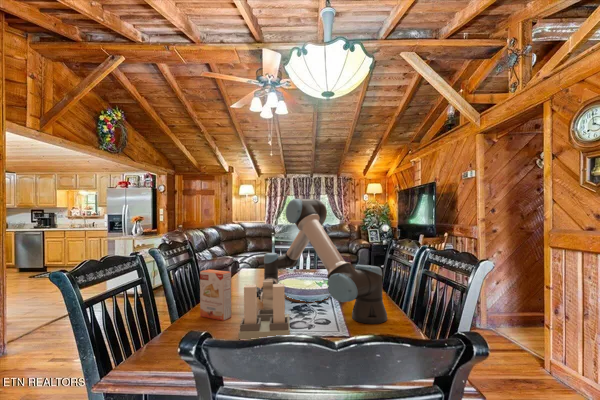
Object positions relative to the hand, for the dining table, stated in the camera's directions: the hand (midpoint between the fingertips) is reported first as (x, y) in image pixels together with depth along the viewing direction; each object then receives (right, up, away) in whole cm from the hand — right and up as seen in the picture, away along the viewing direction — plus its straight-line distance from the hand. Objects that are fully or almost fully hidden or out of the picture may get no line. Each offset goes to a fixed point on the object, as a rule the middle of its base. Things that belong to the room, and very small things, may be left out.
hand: (267, 299), depth 140 cm
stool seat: (+1, -9, -13) cm, 15 cm away
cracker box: (-24, -10, +4) cm, 26 cm away
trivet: (+18, -10, +36) cm, 42 cm away
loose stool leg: (0, -9, +5) cm, 10 cm away
